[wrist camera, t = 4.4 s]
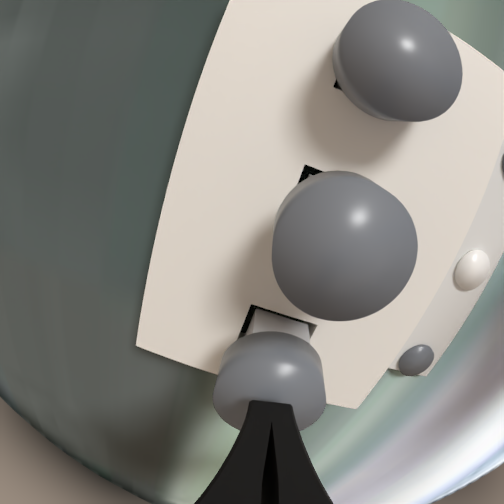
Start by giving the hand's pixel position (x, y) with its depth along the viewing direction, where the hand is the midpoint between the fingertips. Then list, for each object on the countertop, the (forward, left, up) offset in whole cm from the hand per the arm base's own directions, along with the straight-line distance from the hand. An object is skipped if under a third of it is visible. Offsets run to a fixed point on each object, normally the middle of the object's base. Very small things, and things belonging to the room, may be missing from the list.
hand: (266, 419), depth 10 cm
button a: (0, -12, -6) cm, 14 cm away
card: (-9, -6, -7) cm, 12 cm away
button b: (0, -6, -5) cm, 8 cm away
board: (0, -6, -7) cm, 9 cm away
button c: (0, 0, -5) cm, 5 cm away
